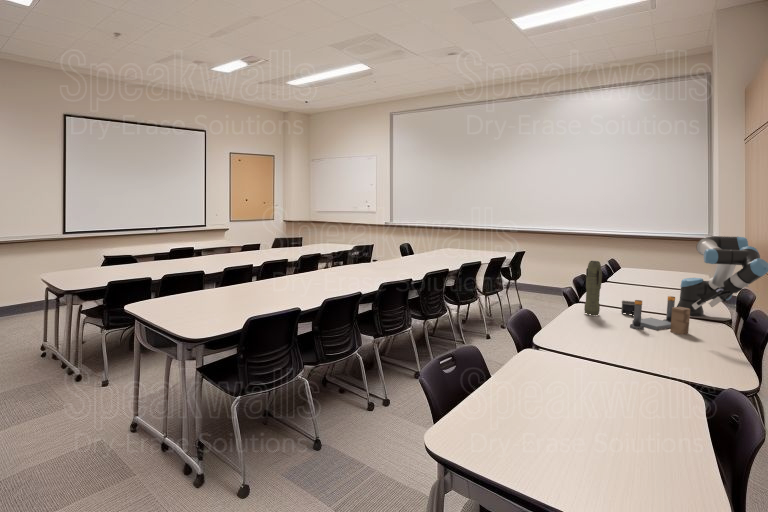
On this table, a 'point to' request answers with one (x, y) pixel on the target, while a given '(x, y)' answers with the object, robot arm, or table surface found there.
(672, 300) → the post
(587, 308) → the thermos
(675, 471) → the table surface
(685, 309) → the block
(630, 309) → the electrical switch
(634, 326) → the post
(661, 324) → the plate
